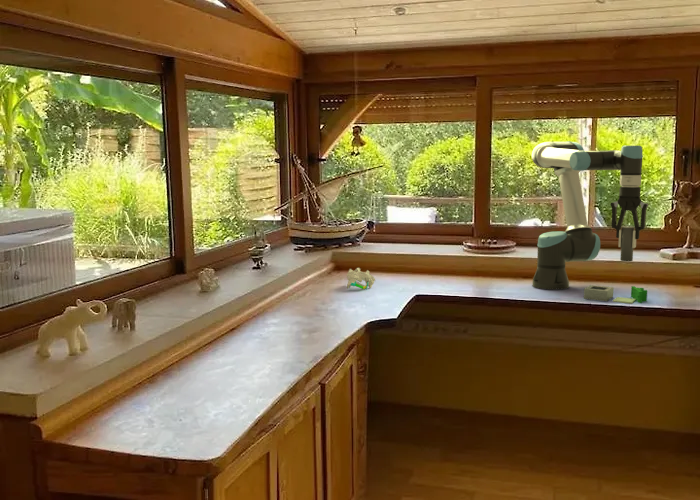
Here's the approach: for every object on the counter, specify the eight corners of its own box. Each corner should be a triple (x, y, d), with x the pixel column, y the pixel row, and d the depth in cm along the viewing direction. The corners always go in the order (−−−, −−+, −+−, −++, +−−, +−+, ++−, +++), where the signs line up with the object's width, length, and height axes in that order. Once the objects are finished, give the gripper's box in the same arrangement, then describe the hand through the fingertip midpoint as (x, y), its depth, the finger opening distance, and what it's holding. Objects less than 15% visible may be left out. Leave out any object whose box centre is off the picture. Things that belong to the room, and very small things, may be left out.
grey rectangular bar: (619, 260, 272) (620, 227, 270) (621, 259, 276) (623, 226, 274) (631, 261, 270) (632, 228, 268) (633, 260, 274) (635, 227, 272)
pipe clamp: (648, 303, 272) (649, 292, 271) (638, 303, 272) (639, 291, 272) (640, 297, 283) (641, 285, 282) (630, 297, 283) (631, 285, 283)
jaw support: (337, 283, 300) (344, 265, 305) (343, 295, 306) (350, 277, 311) (363, 285, 295) (369, 267, 300) (368, 298, 301) (375, 279, 306)
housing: (583, 298, 280) (584, 288, 280) (590, 294, 288) (590, 285, 287) (607, 301, 275) (607, 291, 275) (612, 297, 283) (613, 287, 282)
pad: (612, 301, 275) (612, 300, 274) (617, 298, 280) (617, 296, 280) (631, 303, 271) (631, 302, 271) (635, 300, 276) (635, 298, 276)
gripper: (603, 186, 271) (601, 246, 274) (652, 187, 261) (649, 250, 264) (609, 185, 277) (606, 244, 280) (656, 186, 267) (653, 247, 270)
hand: (627, 246), depth 272 cm, fingers closed on grey rectangular bar, 4 cm apart
